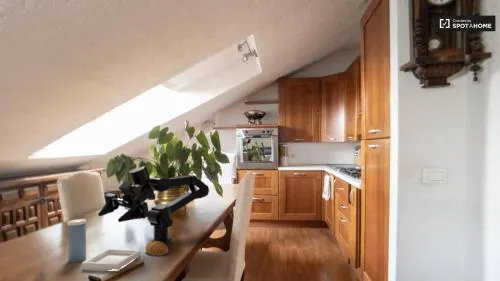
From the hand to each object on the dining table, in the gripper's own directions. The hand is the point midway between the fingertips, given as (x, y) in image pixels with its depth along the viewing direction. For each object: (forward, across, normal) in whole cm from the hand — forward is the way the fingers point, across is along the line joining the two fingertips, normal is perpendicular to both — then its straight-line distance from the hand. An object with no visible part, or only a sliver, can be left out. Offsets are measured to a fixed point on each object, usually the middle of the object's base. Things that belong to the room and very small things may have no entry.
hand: (108, 217), depth 101 cm
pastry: (-7, +13, +18) cm, 23 cm away
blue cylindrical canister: (+8, -10, +15) cm, 20 cm away
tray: (+6, +5, +13) cm, 15 cm away
